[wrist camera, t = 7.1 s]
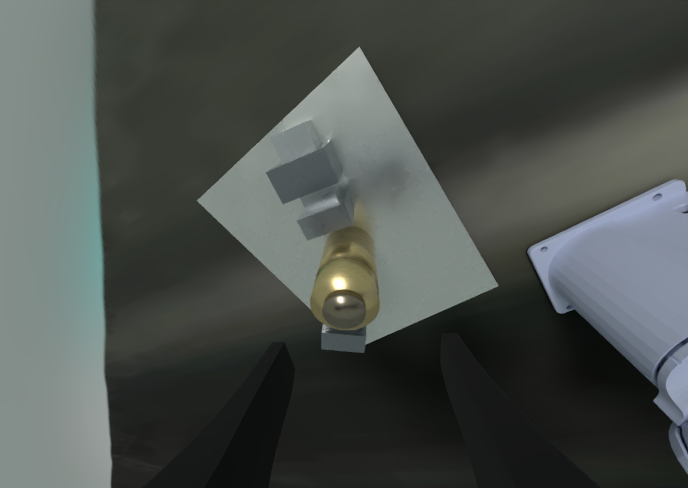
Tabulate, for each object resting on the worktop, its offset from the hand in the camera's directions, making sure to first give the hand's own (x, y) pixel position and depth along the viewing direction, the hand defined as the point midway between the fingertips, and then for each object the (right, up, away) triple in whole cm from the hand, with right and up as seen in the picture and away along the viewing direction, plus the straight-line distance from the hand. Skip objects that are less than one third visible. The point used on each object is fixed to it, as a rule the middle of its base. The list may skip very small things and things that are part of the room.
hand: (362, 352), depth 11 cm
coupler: (0, +5, +8) cm, 10 cm away
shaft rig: (0, +5, +9) cm, 10 cm away
